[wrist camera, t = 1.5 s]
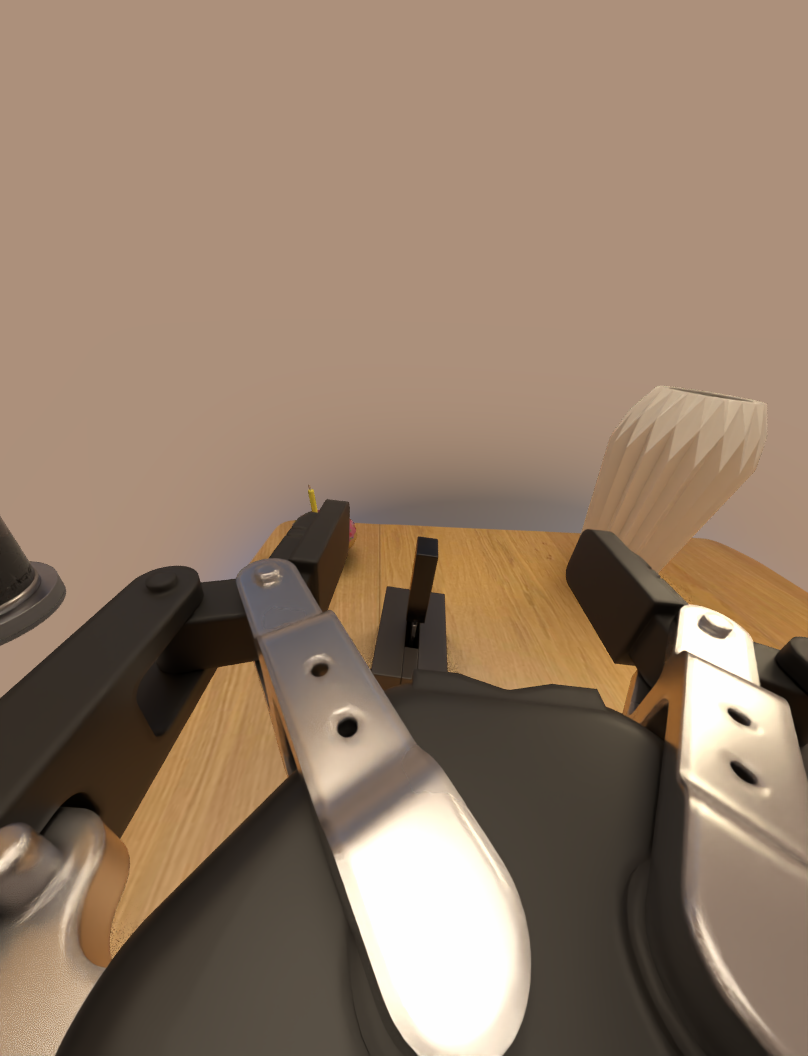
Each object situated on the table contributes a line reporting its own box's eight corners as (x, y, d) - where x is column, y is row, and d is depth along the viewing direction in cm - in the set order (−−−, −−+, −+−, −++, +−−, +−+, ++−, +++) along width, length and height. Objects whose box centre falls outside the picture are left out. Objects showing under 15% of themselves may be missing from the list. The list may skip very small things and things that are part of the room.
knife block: (366, 715, 28) (370, 673, 25) (382, 625, 36) (386, 585, 33) (435, 725, 28) (448, 684, 24) (435, 633, 36) (444, 593, 33)
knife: (396, 681, 31) (416, 556, 23) (399, 655, 33) (418, 533, 25) (412, 684, 31) (438, 559, 23) (414, 657, 33) (438, 536, 25)
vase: (539, 554, 52) (612, 377, 38) (623, 567, 52) (728, 392, 38) (564, 614, 41) (680, 395, 27) (672, 633, 40) (847, 417, 26)
